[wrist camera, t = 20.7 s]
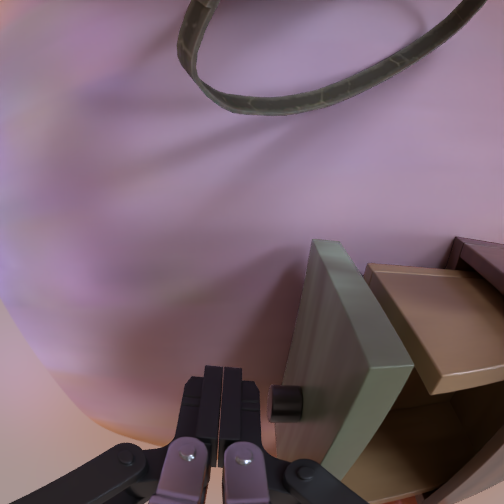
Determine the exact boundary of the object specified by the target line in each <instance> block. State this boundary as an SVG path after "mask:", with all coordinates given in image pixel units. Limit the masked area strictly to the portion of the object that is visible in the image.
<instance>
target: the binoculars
mask: <svg viewBox="0 0 504 504" xmlns="http://www.w3.org/2000/svg"><path fill="white" fill-rule="evenodd" d="M486 1H487V0H463V1H462V2H461V3H460V4H459V5H458V6H457V7H456V8H455V9H454V10H453V11H452V12H451V13H450V14H449V15H448V16H447V17H446V18H445V19H444V20H442V21H441V22H440V23H439V24H438V25H436V26H435V27H434V28H433V29H431V30H430V31H429V32H427V33H426V34H424V35H423V36H421V37H420V38H418V39H417V40H416V41H414V42H413V43H411V44H410V45H408V46H407V47H405V48H404V49H402V50H400V51H399V52H397V53H395V54H393V55H392V56H390V57H388V58H386V59H385V60H383V61H381V62H379V63H378V64H376V65H374V66H372V67H370V68H368V69H366V70H364V71H361V72H359V73H357V74H355V75H353V76H351V77H349V78H346V79H344V80H342V81H339V82H337V83H334V84H331V85H329V86H326V87H323V88H321V89H318V90H314V91H310V92H305V93H300V94H294V95H288V96H282V97H252V96H241V95H233V94H226V93H222V92H219V91H217V90H215V89H213V88H212V87H210V86H209V85H207V84H206V83H204V82H203V81H202V80H201V79H200V78H199V77H198V75H197V70H196V62H197V53H198V50H199V47H200V44H201V41H202V39H203V36H204V33H205V30H206V28H207V26H208V24H209V22H210V20H211V18H212V16H213V14H214V12H215V10H216V8H217V6H218V4H219V2H220V0H191V2H190V4H189V7H188V9H187V11H186V13H185V16H184V19H183V22H182V25H181V28H180V31H179V35H178V41H177V55H178V59H179V61H180V63H181V65H182V66H183V68H184V69H185V70H186V72H187V73H188V74H189V75H190V77H191V78H192V79H193V80H194V82H195V83H196V84H197V85H198V86H199V88H200V89H201V90H202V91H203V93H204V94H205V95H206V96H207V97H208V98H210V99H211V100H212V101H214V102H215V103H216V104H218V105H219V106H220V107H221V108H224V109H226V110H228V111H230V112H232V113H238V114H244V115H264V116H286V115H292V114H298V113H303V112H308V111H312V110H317V109H321V108H324V107H328V106H331V105H334V104H336V103H339V102H341V101H344V100H346V99H348V98H351V97H353V96H356V95H358V94H360V93H362V92H364V91H366V90H368V89H370V88H372V87H374V86H376V85H378V84H380V83H382V82H384V81H386V80H388V79H389V78H391V77H393V76H395V75H396V74H398V73H400V72H401V71H403V70H405V69H406V68H408V67H410V66H411V65H413V64H414V63H416V62H418V61H419V60H421V59H422V58H424V57H425V56H426V55H428V54H429V53H431V52H432V51H434V50H435V49H436V48H438V47H439V46H440V45H442V44H443V43H444V42H446V41H447V40H448V39H449V38H451V37H452V36H453V35H454V34H456V33H457V32H458V31H459V30H460V29H461V28H462V27H463V26H464V25H465V24H466V23H467V22H468V21H469V20H470V19H471V18H472V17H473V16H474V15H475V14H476V13H477V12H478V11H479V10H480V8H481V7H482V6H483V5H484V4H485V2H486Z"/></svg>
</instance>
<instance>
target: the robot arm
mask: <svg viewBox="0 0 504 504" xmlns="http://www.w3.org/2000/svg"><path fill="white" fill-rule="evenodd" d="M222 377H223V367H220V366H209V365H206V366H205V371H204V377H195V376H192V377H191V378H190V379H189V380H188V382H187V383H186V384H185V387H184V392H183V397H182V402H181V408H180V413H179V418H178V423H177V429H176V434H175V437H174V439H173V440H172V441H171V442H170V443H169V444H168V445H166V446H164V447H162V448H158V449H149V450H142V449H141V448H140V447H139V446H137V445H135V444H132V443H120V444H118V445H115V446H114V447H112V448H110V449H109V450H107V451H106V452H104V453H102V454H101V455H99V456H97V457H96V458H94V459H92V460H91V461H89V462H87V463H85V464H84V465H82V466H80V467H78V468H77V469H75V470H73V471H71V472H69V473H68V474H66V475H64V476H62V477H60V478H59V479H57V480H55V481H53V482H51V483H49V484H47V485H46V486H44V487H42V488H40V489H38V490H36V491H34V492H32V493H30V494H28V495H26V496H24V497H22V498H20V499H18V500H16V501H14V502H12V503H9V504H144V503H145V502H147V501H148V500H149V503H148V504H205V499H206V494H207V488H208V483H209V480H210V471H211V467H216V461H217V448H218V434H219V451H218V467H221V468H223V476H222V497H223V504H370V503H368V502H367V501H366V500H364V499H363V498H362V497H360V496H359V495H358V494H356V493H355V492H354V491H352V490H351V489H350V488H348V487H347V486H346V485H345V484H343V483H342V482H341V481H340V480H338V479H337V478H336V477H335V476H333V475H332V474H331V473H330V472H328V471H327V470H326V469H325V468H324V467H322V466H321V465H320V464H319V463H317V462H316V461H314V460H311V459H297V460H295V461H293V462H288V461H285V460H281V459H278V458H275V457H273V456H271V455H270V454H268V453H267V452H266V451H265V449H264V448H263V446H262V442H261V419H260V392H259V389H258V387H257V386H256V384H255V382H254V381H242V368H233V367H224V380H223V392H222ZM221 394H222V405H221ZM220 408H221V418H220ZM219 421H220V432H219Z"/></svg>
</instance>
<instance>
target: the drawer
mask: <svg viewBox="0 0 504 504" xmlns="http://www.w3.org/2000/svg"><path fill="white" fill-rule="evenodd" d="M267 417H268V421H269V422H270V423H275V435H276V449H277V458H278V459H281V460H285V461H288V462H293V461H295V460H297V459H311V460H314V461H316V462H317V463H319V464H320V465H321V466H322V467H324V468H325V469H326V470H327V471H328V472H330V473H331V474H332V475H333V476H335V477H336V478H337V479H338V480H340V481H341V482H342V483H343V484H345V485H346V486H347V487H348V488H350V489H351V490H352V491H354V492H355V493H356V494H358V495H359V496H360V497H362V498H363V499H364V500H366V501H367V502H368V503H370V504H383V503H387V502H391V501H396V500H400V499H404V498H407V497H411V496H415V495H418V494H422V493H425V492H428V491H432V490H435V489H438V488H440V487H441V486H442V485H443V484H445V483H446V482H447V481H448V480H449V479H450V478H451V477H452V476H454V475H455V474H456V473H457V472H458V471H459V470H460V469H461V468H462V467H463V466H464V465H465V464H466V463H467V462H468V461H469V460H470V459H471V458H472V457H473V456H474V455H475V454H476V453H477V452H478V451H479V450H480V449H481V448H482V447H483V446H484V445H485V444H486V443H487V442H488V440H489V439H490V438H491V437H492V436H493V435H494V434H495V433H496V431H497V430H498V429H499V428H500V427H501V426H502V424H503V423H504V295H503V294H502V293H500V292H499V291H498V290H497V289H496V288H495V287H494V286H493V285H492V284H491V283H489V282H488V281H487V280H486V279H485V278H484V277H483V276H482V275H480V274H479V273H478V272H472V271H460V270H448V269H436V268H423V267H411V266H399V265H387V264H375V263H367V266H366V270H365V273H364V277H362V275H361V274H360V272H359V271H358V269H357V268H356V266H355V264H354V263H353V261H352V260H351V258H350V257H349V255H348V254H347V252H346V251H345V249H344V248H343V246H342V245H341V243H340V242H338V241H328V240H318V239H312V242H311V247H310V253H309V259H308V264H307V269H306V275H305V280H304V285H303V290H302V295H301V300H300V305H299V310H298V315H297V319H296V324H295V329H294V333H293V338H292V343H291V347H290V352H289V356H288V360H287V365H286V369H285V373H284V377H283V382H282V385H271V386H270V388H269V392H268V400H267Z"/></svg>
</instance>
